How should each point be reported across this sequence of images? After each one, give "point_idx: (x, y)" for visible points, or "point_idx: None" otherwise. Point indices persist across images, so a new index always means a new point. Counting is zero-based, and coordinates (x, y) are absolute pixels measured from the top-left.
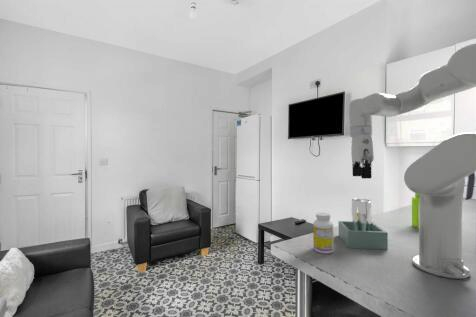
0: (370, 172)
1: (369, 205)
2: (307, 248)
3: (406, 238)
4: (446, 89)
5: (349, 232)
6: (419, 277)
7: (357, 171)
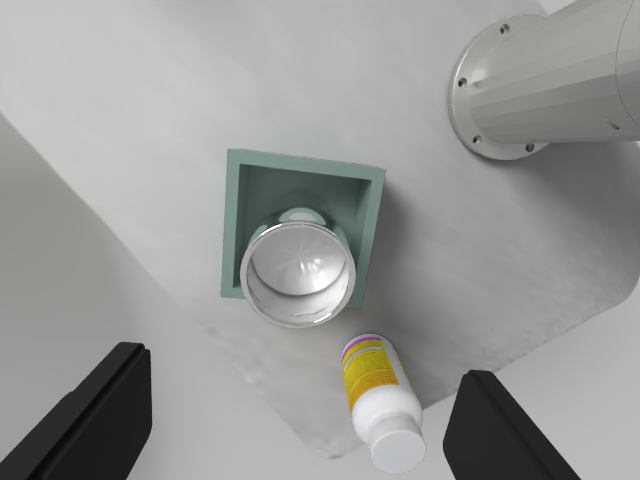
0: (531, 435)
1: (348, 245)
2: None
3: (252, 3)
4: None
5: (360, 302)
6: (541, 190)
7: (116, 447)
